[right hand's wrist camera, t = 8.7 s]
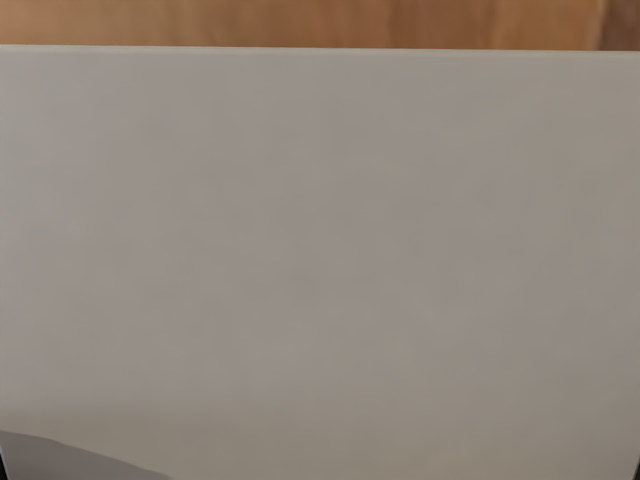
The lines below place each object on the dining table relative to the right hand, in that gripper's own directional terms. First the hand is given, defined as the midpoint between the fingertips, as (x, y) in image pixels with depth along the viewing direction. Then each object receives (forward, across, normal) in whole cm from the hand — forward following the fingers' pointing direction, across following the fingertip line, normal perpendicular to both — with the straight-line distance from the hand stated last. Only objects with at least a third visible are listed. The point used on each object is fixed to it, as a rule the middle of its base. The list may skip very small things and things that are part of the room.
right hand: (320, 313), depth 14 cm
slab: (0, 0, -23) cm, 23 cm away
